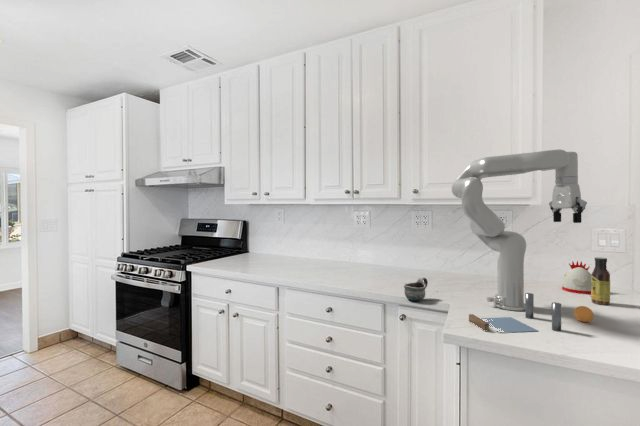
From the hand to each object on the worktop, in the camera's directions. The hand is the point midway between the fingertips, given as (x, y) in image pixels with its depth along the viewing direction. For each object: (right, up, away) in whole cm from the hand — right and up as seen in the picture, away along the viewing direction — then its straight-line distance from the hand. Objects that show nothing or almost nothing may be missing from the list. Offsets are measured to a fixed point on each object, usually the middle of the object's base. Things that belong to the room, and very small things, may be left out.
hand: (566, 222), depth 137 cm
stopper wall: (-48, -36, -22) cm, 64 cm away
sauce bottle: (+17, -35, +3) cm, 39 cm away
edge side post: (-24, -36, -27) cm, 51 cm away
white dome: (+25, -35, +25) cm, 50 cm away
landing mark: (-38, -36, -21) cm, 57 cm away
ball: (-8, -33, -19) cm, 39 cm away
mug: (-60, -36, +12) cm, 71 cm away
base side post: (-25, -36, -14) cm, 46 cm away
